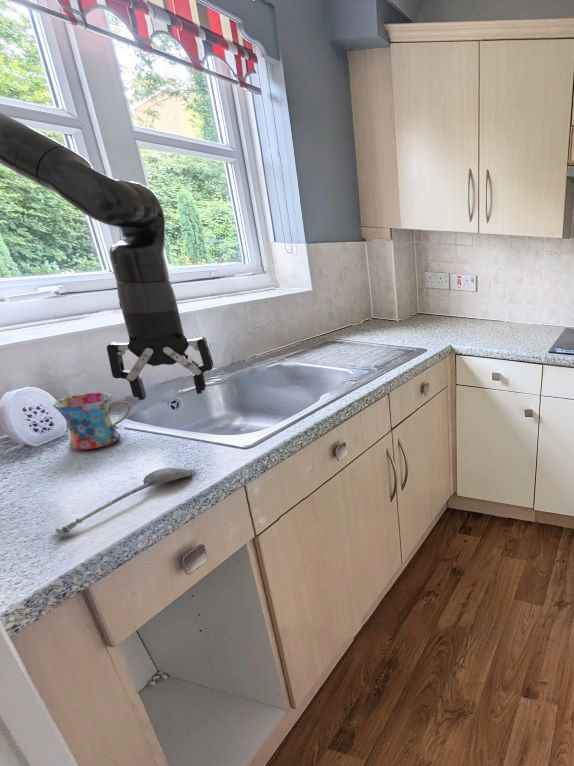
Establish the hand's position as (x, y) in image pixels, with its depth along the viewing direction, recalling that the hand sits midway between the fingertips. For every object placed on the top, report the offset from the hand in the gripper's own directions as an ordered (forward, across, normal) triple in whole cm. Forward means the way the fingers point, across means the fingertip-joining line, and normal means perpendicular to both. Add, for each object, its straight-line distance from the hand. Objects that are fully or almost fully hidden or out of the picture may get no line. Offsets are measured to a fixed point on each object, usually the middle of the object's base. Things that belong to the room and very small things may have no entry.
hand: (171, 395), depth 83 cm
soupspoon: (+18, +8, +5) cm, 20 cm away
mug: (+18, +19, -27) cm, 37 cm away
